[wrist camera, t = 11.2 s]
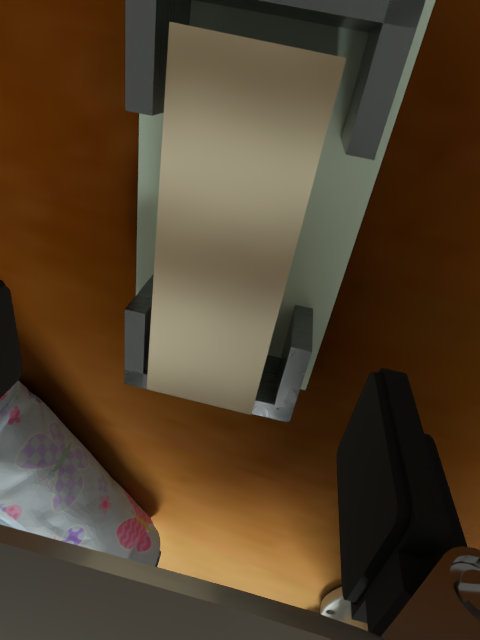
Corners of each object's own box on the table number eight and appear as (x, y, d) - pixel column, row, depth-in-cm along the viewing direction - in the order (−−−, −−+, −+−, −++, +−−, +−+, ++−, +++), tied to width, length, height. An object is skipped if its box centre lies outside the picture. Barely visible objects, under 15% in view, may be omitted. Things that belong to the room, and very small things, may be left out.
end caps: (293, 374, 25) (289, 422, 21) (150, 341, 25) (124, 383, 22) (405, 4, 15) (430, -14, 12) (167, -39, 15) (125, -68, 12)
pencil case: (177, 523, 38) (140, 643, 30) (105, 533, 41) (55, 643, 33) (38, 352, 30) (-65, 457, 22) (-40, 380, 33) (-156, 481, 25)
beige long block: (265, 341, 24) (251, 415, 19) (182, 321, 24) (146, 388, 19) (337, 61, 16) (346, 58, 11) (215, 35, 16) (169, 21, 11)
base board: (306, 374, 26) (305, 390, 25) (143, 337, 27) (134, 350, 26) (434, -19, 16) (444, -26, 14) (156, -67, 16) (143, -79, 15)
